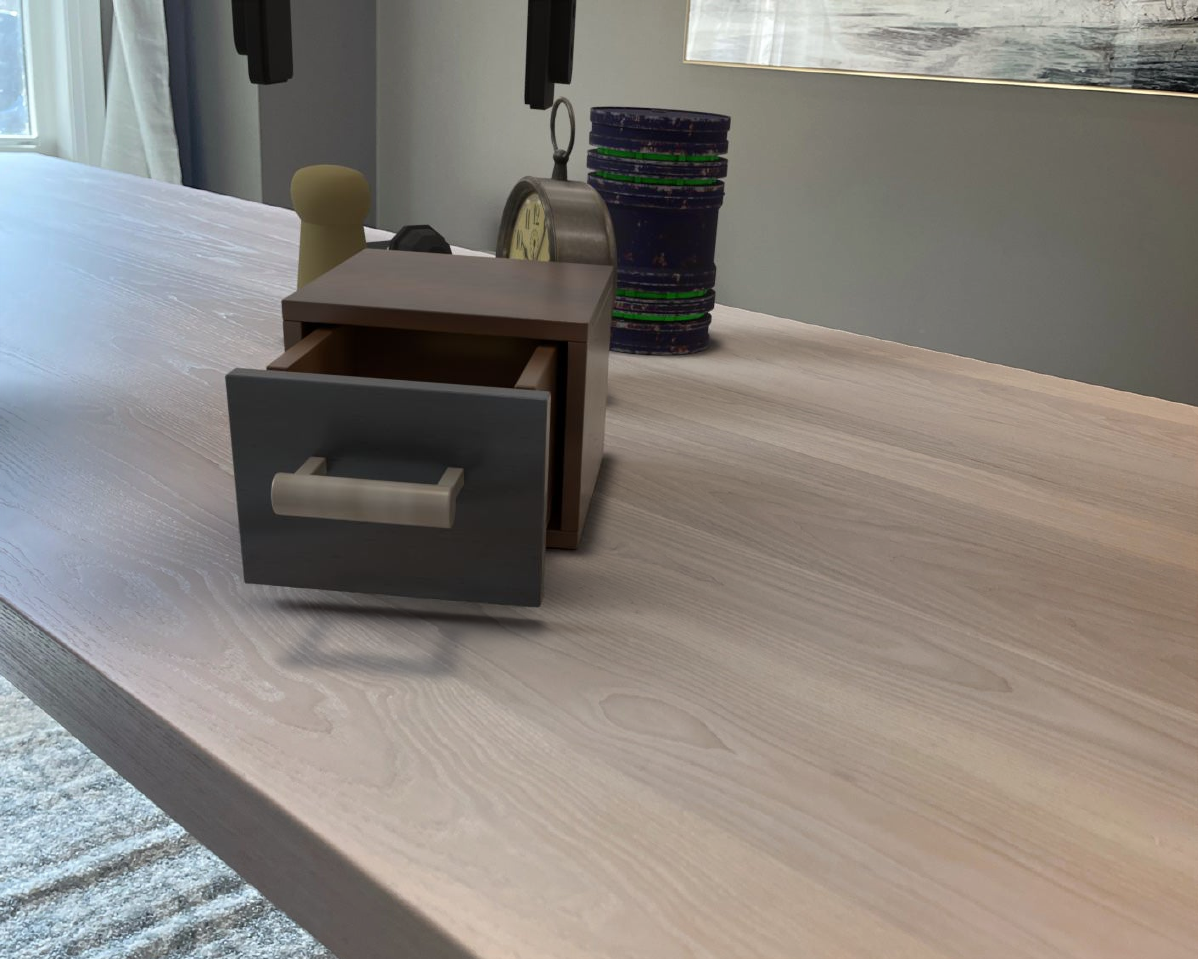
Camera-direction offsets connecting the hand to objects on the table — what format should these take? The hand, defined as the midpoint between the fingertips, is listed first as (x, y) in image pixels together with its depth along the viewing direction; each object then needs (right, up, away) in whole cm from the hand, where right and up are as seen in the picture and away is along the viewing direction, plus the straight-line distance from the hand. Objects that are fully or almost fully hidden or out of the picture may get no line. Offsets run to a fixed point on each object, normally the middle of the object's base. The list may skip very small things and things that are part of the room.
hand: (405, 95), depth 46 cm
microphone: (-11, +19, +64) cm, 67 cm away
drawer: (-1, -15, +7) cm, 17 cm away
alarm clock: (+4, +1, +36) cm, 37 cm away
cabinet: (0, -10, +17) cm, 20 cm away
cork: (-11, +7, +44) cm, 46 cm away
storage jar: (+10, +9, +50) cm, 52 cm away
